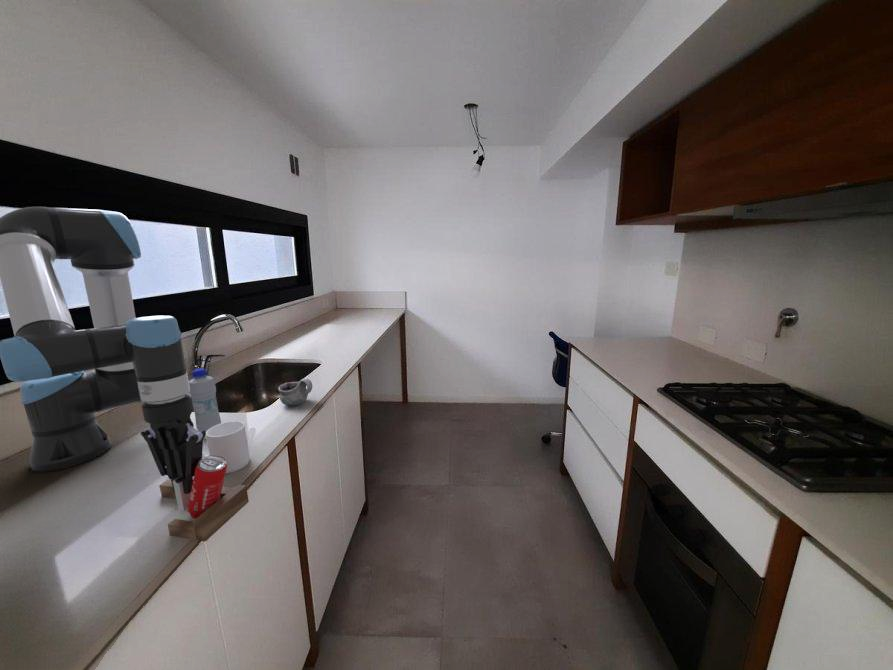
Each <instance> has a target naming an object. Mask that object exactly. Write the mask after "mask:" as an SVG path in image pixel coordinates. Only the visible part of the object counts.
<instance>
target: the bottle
mask: <svg viewBox="0 0 893 670" xmlns="http://www.w3.org/2000/svg"><path fill="white" fill-rule="evenodd" d="M189 386H190V391H189V392H188V393H189V394H190V395H191V398H192V404H193V413H194V416H195V417H194V418H195V426H196V430H197V431H199V432H200V431H201V430H204V431H205V432H206V431H207V430H208V429H210V428H211V427H213V426H215V425H218V424H221V423H222V419H221V415H220V412H219V408H218V407H219V406H218V399H217V396H216V393H217V386H216V384H215V381H214V378H213V377H212V376H210V375H208V374H207V370H206V369H205V368H196V369H194V370H193V371H192V379H189Z"/></svg>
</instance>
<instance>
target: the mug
mask: <svg viewBox="0 0 893 670" xmlns="http://www.w3.org/2000/svg"><path fill="white" fill-rule="evenodd" d="M277 389H278V391H279V400H280V402H281V404H282V405H284V406H288V407H295V406H299V405H301V404H303V403H304V402H305V401H306V400H307V399H308V396H309V394H310V393H311V392H312V389H313V382H312V381H311V379H309V378H306V377H305V378H302V379H300V380H299V381H291V382H290V381H289V382H285V383H282V384H280V385H279V386H278V388H277Z"/></svg>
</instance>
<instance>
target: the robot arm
mask: <svg viewBox="0 0 893 670" xmlns="http://www.w3.org/2000/svg"><path fill="white" fill-rule="evenodd" d="M141 257H142V252H141V247H140V243H139V240H138V237H137V234H136V231H135V229H134V226H133V225H132V223H131V221H130V220H129V219H128V217H127V216H126V215H124V214H123V213H122V212H118V211H112V210H104V209H88V208H71V207H70V208H68V207H47V206H26V207H22V208H18V209H14V210H12V211H10V212H7V213H5V214H4V215H2V216H0V282H1V283H0V284H1V287H2V290H3V295H4V300H5V303H6V308H7V310H8V311H7V312H8V316H9V320H10V323H11V328H12V331H13V335H14V336H13V337H9V338H6V339H1V340H0V361H1V364H2V367H3V370H4V374H5V375H6V378H7V379H8V380H10V381H12V382H15V383H16V382H19V383H20V382H23V383H22V384H21V385H20V387H19V392H20V398H21V401H20V403H21V404H22V405H23V406H24V407H23V408H24V410H25V415H26V417H27V421H28V424H29V429H30V430H31V435H32V438H33V439H32V444H31V448H30V455H29V460H28V462H29V464H30V465H29V466H30V468H31V470H32V471H34V472H43V473H44V472H51V471H59V470H63V469H67V468H70V467H75V466H78V465H80V464H83V463H86V462H88V461H90V460H93V459H95V458H98V457H99V456H101V455H103V454H104V453H106V452H107V451H108V450H109V449H110V448H112V447H111V446H112V443H111V442H112V441H111V439H110V436H109V434H108V433H107V432H106V431H105V430H104V429H103V427H101V425H100V424H99V423H98V422H97V420H96V416H95V414H96V413H99V412H103V411H104V412H105V411H108V410H111V409H115V408H119V407H124V406H128V405H131V404H136V403H137V404H139V403H141V402H142V403H141V411H142V415H143V420H144V421H145V422H146V423H148V424H149V426H150V427H148V428H146V429H144V430H142V431H140V435H141V437H142V438H143V439H144V440H145V442H146V444H147V446H148V448H149V450H150V453H151V456H152V457H153V461H154V462H155V464H156V467H157V470H158V472H159V474H160V475H161V476H162V477H165V476H167V478H168V480H171V481H172V486H173V490H174V492H175V495H176V499H175V501H176V503H177V504H176V505H177V509H178V511H186V509H187V510H188V505H189V500H190V495H191V490H192V484H193V479H194V474H195V469H196V465H197V464H198V462H199V461H200V460H201V459H202V452H203V448H204V446H203V445H204V440H205V439H204V438H205V435H206V432H205V431H204V430H201V431H200V432H199V431H198V430H197V428H195V426H194V422H193V421H192V419H191V414H192V413H193V412H194V407H193V402H192V398H191V395H190V394H189V391H190V386H189V381H190V379H189V376H188V372H187V367H186V361H185V360H186V359H185V355H184V348H183V344H182V343H183V342H182V332H181V330H180V327H179V324H178V320H177V318H175V317H174V316H172V315H150V316H140V317H136V312H135V306H134V301H133V300H134V299H133V295H132V288H131V287H132V286H131V283H130V277H129V271H130V270H132V269H133V268H134V267H135V262H134V261H135V260H138V259H141ZM55 260H70V263H71V264H70V265H71V267H72V268H74V269H76V270H77V271H79V272H80V273H81V274H82V277H83V283H84V288H85V291H86V296H87V301H88V305H89V306H88V307H89V309H90V315H91V319H92V324H93V328H85V329H78V330H76V327H75V325H74V322H73V319H72V315H71V313H70V310H69V308H68V304H67V302H66V298H65V296H64V292H63V290H62V286H61V284H60V281H59V278H58V275H57V273H56V270H55V266H54V263H55Z"/></svg>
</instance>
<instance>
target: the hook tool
mask: <svg viewBox="0 0 893 670" xmlns="http://www.w3.org/2000/svg"><path fill="white" fill-rule="evenodd" d="M158 486H159V491H160V494H161V498H167V499H173V500H174V499H175V500H176V495H175V492H174V490H173V486H172V481H171V480H170V479H166V480H165V481H163V482H162V483H160V484H159V485H158ZM248 503H249V494H248V489H247V485H246V484H237V485H235V487H231V486H230V487H229V486H223V487H222V491H221V496H220V500H218V501H217V502H216V503H215V504H214V505H212V506H211V507H210V508H209V509H207V510H206V511H205V512H204V513H203V514H201V515H200V516H199V517H198V518H196V519H194V520H193V521H192V520H187V519H179V518H174V519H173V520H171V521H170V522H169V523H167V525H166V526H167V527H168V528H167V529H168V532H169V537H171V536H172V537H175V538H183V539H189V540H195V541H202V542H207V540H209V539H210V538H211V537H212V536H213V535H214V534H216V533H217V532H218V531H219V530H220V529H221V528H222V527H223V526H225V524H227V522H229V521H230V520H231V519H232V518H233V517H234V516H235V515H236V514H237V513H239V512H240V511H241V510H242V509H243V508H244V507H245V506H246V505H247V504H248Z"/></svg>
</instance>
